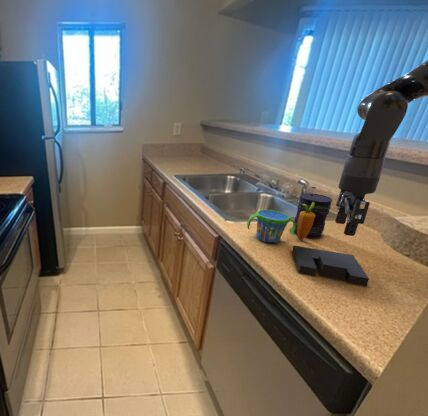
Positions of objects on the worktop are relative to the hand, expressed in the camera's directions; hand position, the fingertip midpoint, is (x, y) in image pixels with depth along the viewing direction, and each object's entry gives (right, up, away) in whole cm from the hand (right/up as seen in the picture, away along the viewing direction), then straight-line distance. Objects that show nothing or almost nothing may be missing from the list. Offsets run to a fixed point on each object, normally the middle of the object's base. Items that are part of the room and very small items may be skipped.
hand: (343, 228), depth 78 cm
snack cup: (-6, -6, +26) cm, 28 cm away
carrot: (+6, -6, +25) cm, 27 cm away
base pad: (+1, -13, +8) cm, 15 cm away
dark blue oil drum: (+12, -4, +31) cm, 33 cm away
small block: (0, -14, +5) cm, 15 cm away
